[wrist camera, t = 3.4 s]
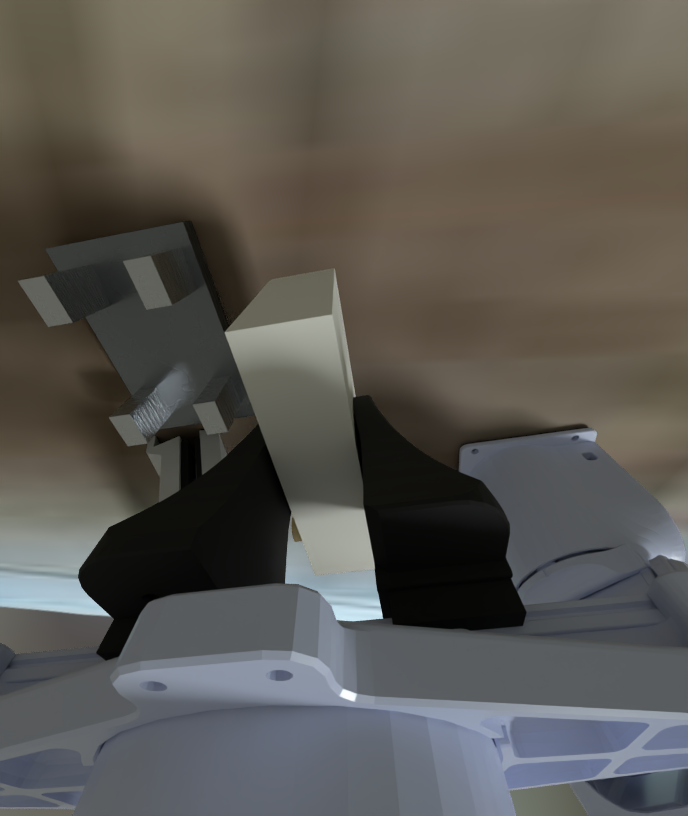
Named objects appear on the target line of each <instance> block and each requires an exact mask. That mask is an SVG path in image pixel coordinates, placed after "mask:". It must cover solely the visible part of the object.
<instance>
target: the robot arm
mask: <svg viewBox="0 0 688 816" xmlns="http://www.w3.org/2000/svg"><path fill="white" fill-rule="evenodd" d="M353 411H354V417H355V423H356V428H357V434H358V440H359V446H360V451H361V457H362V467H363V506H364V511H365V516H366V522H367V527H368V532H369V537H370V543H371V548H372V553H373V558H374V565H375V575H376V585H377V591H378V594H379V599H380V604H381V609H382V614H383V619H375V620H365V621H354V622H352V621H340V620H336V618H335V615H334V612H333V609H332V607H331V605H330V604H329V603H328V602H327V601H326V600H325V599H324V598H323V597H322V596H321V594H319V593H318V592H317V591H315V590H312V589H309V588H307V587H304V586H301V585H299V584H285V572H286V555H287V542H288V529H289V522H290V516H291V510H290V507H289V504H288V501H287V499H286V496H285V493H284V491H283V488H282V485H281V483H280V480H279V477H278V475H277V472H276V469H275V467H274V464H273V461H272V459H271V456H270V453H269V451H268V448H267V445H266V443H265V440H264V437H263V434H262V432H261V429H260V426H259V424H258V425H257V426H256V427H255V428H254V429H253V430H252V431H251V432H250V433H249V434H248V436H247V437H246V438H245V439H244V440H243V441H241V442H240V443H239V444H238V445H237V446H236V447H235V448H234V449H233V450H232V451H231V452H230V453H229V454H228V455H227V456H226V457H224V458H223V459H222V460H221V461H220V462H218V463H217V464H216V465H215V466H213V467H212V468H211V469H210V470H208V471H207V472H206V473H204V474H203V475H202V476H200V477H199V478H197V479H196V480H194V481H193V482H191V483H190V484H188V485H187V486H185V487H184V488H182V489H181V490H179V491H178V492H176V493H174V494H173V495H171V496H169V497H168V498H166V499H164V500H162V501H161V502H159V503H157V504H155V505H153V506H152V507H150V508H148V509H146V510H144V511H142V512H140V513H138V514H136V515H134V516H132V517H130V518H128V519H125V520H123V521H121V522H119V523H117V524H115V525H113V526H111V527H109V528H108V530H107V531H106V533H105V534H104V535H103V537H102V538H101V540H100V541H99V542H98V544H97V545H96V547H95V548H94V549H93V551H92V552H91V554H90V555H89V557H88V558H87V559H86V561H85V562H84V564H83V565H82V566H81V568H80V569H79V575H78V578H79V581H80V584H81V587H82V588H83V590H84V591H85V592H86V593H87V594H88V595H89V596H90V597H91V598H92V599H93V600H94V601H95V602H96V603H97V604H98V605H99V606H100V607H102V608H103V609H104V610H105V611H106V612H107V613H108V614H109V615H110V616H111V617H113V618H114V620H113V622H112V624H111V626H110V628H109V630H108V631H107V633H106V635H105V637H104V639H103V641H102V643H101V644H100V646H95V647H86V648H74V649H64V650H53V651H43V652H32V653H22V654H15V653H14V651H13V650H12V649H10V648H9V647H8V646H6V645H4V644H2V643H0V808H1V809H11V808H12V809H13V808H14V809H24V808H25V809H75V810H74V813H73V814H72V816H516V812H515V809H514V806H513V802H512V799H511V795H510V792H509V791H510V790H517V789H525V788H533V787H541V786H548V785H557V784H565V783H568V784H569V785H570V787H571V788H572V790H573V792H574V793H575V795H576V796H577V798H578V800H579V802H580V803H581V805H582V806H583V808H584V810H585V812H586V813H587V815H588V816H688V565H687V564H686V563H685V547H684V543H683V539H682V537H681V534H680V532H679V530H678V528H677V526H676V524H675V522H674V521H673V519H672V517H671V516H670V514H669V513H668V512H667V510H666V509H665V508H664V507H663V505H662V504H661V503H660V502H659V501H658V500H657V499H656V498H655V497H654V496H653V495H652V494H651V493H649V492H648V491H647V490H646V489H645V488H644V487H643V486H642V485H641V484H640V483H639V482H638V481H636V480H635V479H634V478H633V477H632V476H631V475H630V474H629V473H628V472H627V471H626V470H625V469H624V468H622V467H621V466H620V465H619V464H618V463H617V462H616V461H615V460H614V459H613V458H612V457H611V456H609V455H608V454H607V453H606V452H605V451H604V450H603V449H602V448H601V447H600V446H599V445H598V444H596V443H595V439H596V436H597V432H596V431H595V430H594V429H592V428H583V429H576V430H569V431H561V432H554V433H546V434H539V435H531V436H524V437H517V438H509V439H502V440H494V441H487V442H480V443H472V444H466V445H463V446H462V447H461V448H460V450H459V472H458V471H456V470H454V469H452V468H450V467H448V466H446V465H444V464H442V463H440V462H438V461H436V460H434V459H433V458H431V457H430V456H428V455H426V454H425V453H423V452H422V451H420V450H419V449H417V448H416V447H415V446H413V445H412V444H411V443H410V442H408V441H407V440H406V439H405V438H404V437H403V436H401V435H400V434H399V433H398V432H397V431H396V430H395V429H394V428H393V427H392V426H391V425H390V423H389V422H388V421H387V420H386V419H385V418H384V416H383V415H382V414H381V413H380V411H379V410H378V408H377V407H376V406H375V404H374V402H373V400H372V398H371V397H370V396H369V395H366V396H359V397H353ZM573 436H574V437H573ZM473 449H476V450H474V451H472V450H473Z"/></svg>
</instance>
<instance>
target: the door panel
mask: <svg viewBox="0 0 688 816" xmlns="http://www.w3.org/2000/svg"><path fill="white" fill-rule="evenodd" d="M224 333H225V335H226V338H227V341H228V343H229V346H230V349H231V351H232V354H233V357H234V359H235V362H236V365H237V367H238V370H239V373H240V376H241V378H242V381H243V384H244V386H245V389H246V392H247V394H248V397H249V400H250V402H251V405H252V408H253V410H254V413H255V416H256V418H257V421H258V424H259V426H260V429H261V432H262V434H263V437H264V440H265V443H266V445H267V448H268V451H269V453H270V456H271V459H272V461H273V464H274V467H275V469H276V472H277V475H278V477H279V480H280V483H281V485H282V488H283V491H284V493H285V496H286V499H287V501H288V504H289V507H290V510H291V512H292V515H293V518H292V535H293V539H294V541H295V542H298V541H302V542H303V544H304V547H305V550H306V552H307V555H308V558H309V560H310V563H311V566H312V568H313V571H314V574H315V576H316V575H325V574H334V573H343V572H353V571H362V570H371V569H375V565H374V558H373V553H372V548H371V543H370V537H369V532H368V527H367V522H366V516H365V511H364V506H363V467H362V457H361V451H360V446H359V440H358V434H357V428H356V423H355V417H354V411H353V397H356V395H355V389H354V383H353V377H352V371H351V365H350V359H349V353H348V347H347V341H346V335H345V329H344V323H343V317H342V311H341V305H340V299H339V292H338V286H337V280H336V274H335V268H333V269H327V270H322V271H316V272H311V273H305V274H299V275H294V276H288V277H282V278H277V279H271V280H270V281H269V282H268V283H267V284H266V285H265V287H264V288H263V289H262V290H261V291H260V292H259V293H258V295H257V296H256V297H255V298H254V299H253V300H252V301H251V303H250V304H249V305H248V306H247V307H246V308H245V309H244V311H243V312H242V313H241V314H240V315H239V316H238V317H237V319H236V320H235V321H234V322H233V323H232V324H231V325H230V327H229V328H228V329H227V330H226V331H225V332H224Z"/></svg>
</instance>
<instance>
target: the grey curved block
mask: <svg viewBox="0 0 688 816" xmlns="http://www.w3.org/2000/svg"><path fill="white" fill-rule="evenodd" d="M146 453H147V455H148V457H149V458H150V460H151V462H152V464H153V466H154V468H155V470H156V471H157V473H158V475H159V477H160V487H159V502H161V501H162V500H164V499H166V498H168V497H169V496H171V495H173V494H174V493H176V492H178V491H179V490H181V489H182V488H184V487H185V486H187V485H188V484H190V483H191V482H193V481H194V480H196V479H197V478H199V477H200V476H202V475H203V474H204V473H206V472H207V471H208V470H210V469H211V468H212V467H213V466H215V465H216V464H217V463H218V462H220V461H221V460H222V459H223V458H224V457H226V456H227V453H226V450H225V448H224V445H223V442H222V440H221V437H220V434H219V433H217V434H210V435H207V433H206V431H205V430H200V437H196V438H195V456H194V454H193V451H192V449H191V447H190V444H189V442H188V440H185V441H182V440H181V438H180V436H178V437H176V438H173V439H171V440H169V441H166V442H164V443H162V444H160V443H159V441H158V439H157V437H156V436H153V438H152V439H151V440H150V441H149V443H148V445H147V449H146ZM195 461H196V462H195ZM159 502H158V503H159Z"/></svg>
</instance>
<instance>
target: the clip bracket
mask: <svg viewBox="0 0 688 816" xmlns="http://www.w3.org/2000/svg"><path fill="white" fill-rule="evenodd" d="M45 250H46V252H47V253H48V255H49V257H50V259H51V260H52V262H53V264H54V265H55V267H56V269H57V270H58V271H57V272H52V273H48V274H44V275H40V276H36V277H32V278H27V279H23V280H19V281H18V282H19V284H20V285H21V287H22V288H23V290H24V291H25V293H26V294H27V296H28V297H29V299H30V300H31V302H32V303H33V305H34V306H35V308H36V309H37V311H38V312H39V314H40V315H41V317H42V318H43V320H44V321H45V323H46V324H47V326H48V327H51V326H57V325H62V324H68V323H73V322H75V321H78V320H80V319H82V318H84V317H86V319H87V321H88V323H89V324H90V326H91V328H92V329H93V331H94V333H95V334H96V336H97V338H98V339H99V341H100V343H101V344H102V346H103V348H104V349H105V351H106V353H107V354H108V356H109V358H110V360H111V361H112V363H113V365H114V366H115V368H116V370H117V371H118V373H119V375H120V376H121V378H122V380H123V381H124V383H125V385H126V386H127V388H128V390H129V392H130V393H131V395H132V396H131V397H130V398H129V399H128V400H127V401H126V402H125V403H124V404H123V405H121V406H120V407H119V408H118V409H117V410H116V411H115V412H114V413H113V414H112V415H111V416H110V417H109V419H110V420H111V422H112V423H113V425H114V426H115V428H116V429H117V431H118V432H119V434H120V435H121V437H122V438H123V440H124V441H125V443H126V444H127V446H134V445H141V444H148V443H149V441H150V440H151V439H152V438H153V436H154V435H155V434H156V433H157V431H158V430H159V429H166V428H172V427H179V426H186V425H193V424H199V423H202V425H203V427H204V429H205V431H206V433H207V435H210V434H217V433H223V432H228V431H229V429H230V427H231V425H232V422H233V420H234V418H240V417H247V416H254V415H255V413H254V410H253V408H252V405H251V402H250V400H249V397H248V394H247V392H246V389H245V386H244V384H243V381H242V378H241V376H240V373H239V370H238V367H237V365H236V362H235V359H234V357H233V354H232V351H231V349H230V346H229V343H228V341H227V338H226V335H225V333H224V332H225V331H226V330H227V329H228V328H229V325H228V322H227V320H226V317H225V314H224V311H223V308H222V306H221V303H220V300H219V297H218V295H217V292H216V289H215V286H214V283H213V281H212V278H211V275H210V272H209V270H208V267H207V264H206V261H205V258H204V256H203V253H202V250H201V247H200V245H199V242H198V239H197V236H196V233H195V231H194V228H193V225H192V222H191V221H186V222H180V223H175V224H170V225H164V226H159V227H154V228H149V229H144V230H139V231H134V232H128V233H123V234H118V235H113V236H108V237H103V238H98V239H92V240H87V241H82V242H77V243H72V244H67V245H62V246H56V247H51V248H46V249H45Z"/></svg>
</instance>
